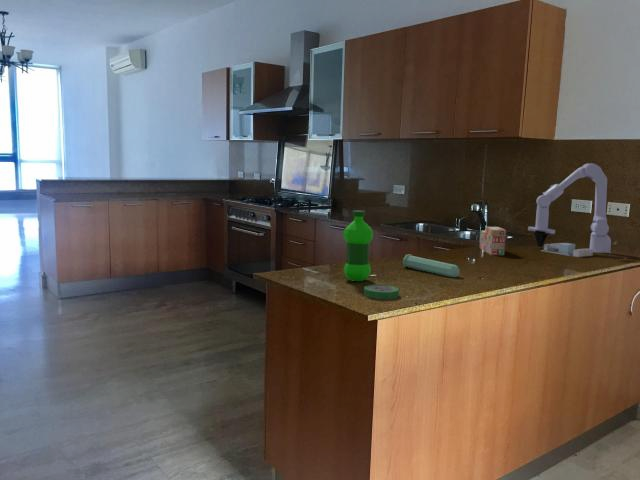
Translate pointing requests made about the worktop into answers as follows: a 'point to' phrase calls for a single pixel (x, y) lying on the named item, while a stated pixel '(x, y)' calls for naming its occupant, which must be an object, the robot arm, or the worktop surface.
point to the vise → (575, 252)
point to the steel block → (566, 248)
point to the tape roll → (381, 291)
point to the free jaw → (551, 247)
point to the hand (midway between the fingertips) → (540, 246)
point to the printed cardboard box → (493, 240)
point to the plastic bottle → (357, 248)
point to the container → (431, 266)
